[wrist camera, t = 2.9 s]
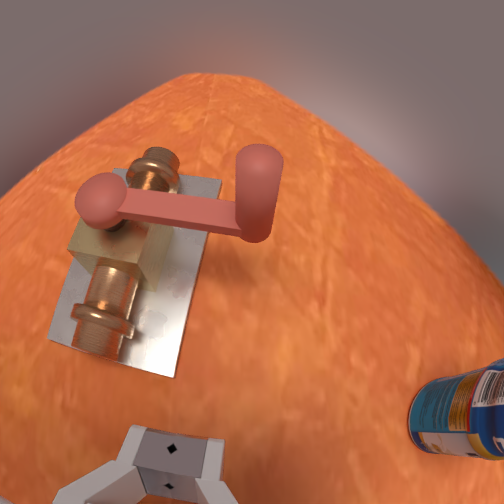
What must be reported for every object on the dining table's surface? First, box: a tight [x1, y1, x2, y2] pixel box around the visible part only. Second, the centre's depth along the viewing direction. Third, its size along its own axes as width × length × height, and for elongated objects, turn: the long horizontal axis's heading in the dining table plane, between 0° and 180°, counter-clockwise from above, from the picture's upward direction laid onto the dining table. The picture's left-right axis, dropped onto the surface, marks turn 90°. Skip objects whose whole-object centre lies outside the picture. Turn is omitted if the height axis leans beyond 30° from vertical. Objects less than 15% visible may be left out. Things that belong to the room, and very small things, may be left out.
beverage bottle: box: [408, 358, 504, 461], centre depth 16 cm, size 8×8×20 cm
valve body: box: [47, 147, 222, 378], centre depth 28 cm, size 22×14×9 cm, turn 171°
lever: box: [75, 144, 283, 243], centre depth 20 cm, size 16×4×7 cm, turn 81°
